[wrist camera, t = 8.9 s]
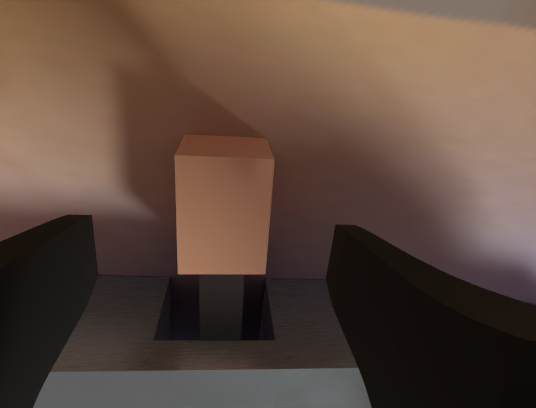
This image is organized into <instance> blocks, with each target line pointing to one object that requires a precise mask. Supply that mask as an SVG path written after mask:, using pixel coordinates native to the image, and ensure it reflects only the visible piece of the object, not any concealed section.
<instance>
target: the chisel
mask: <svg viewBox="0 0 536 408" xmlns="http://www.w3.org/2000/svg"><path fill="white" fill-rule="evenodd" d="M274 164H275V158H274V156H273V154H272V152H271V149H270V147H269V145H268V142H267V140H266V138H253V137H233V136H212V135H192V134H185V135H184V137H183V139H182V141H181V143H180V145H179V147H178V149H177V151H176V153H175V190H176V226H177V262H178V274H199V337H200V341H241V330H242V312H243V294H244V276H245V274H266V262H267V249H268V237H269V225H270V213H271V200H272V188H273V176H274Z"/></svg>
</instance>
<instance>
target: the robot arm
mask: <svg viewBox="0 0 536 408" xmlns="http://www.w3.org/2000/svg"><path fill="white" fill-rule="evenodd" d="M97 278H98V270H97V260H96V251H95V241H94V232H93V223H92V215H66V216H62V217H59V218H56V219H54V220H51V221H49V222H46V223H44V224H41V225H39V226H37V227H34V228H32V229H29V230H27V231H25V232H22V233H20V234H18V235H15V236H13V237H11V238H8V239H6V240H3V241H1V242H0V408H33V407H34V404H35V402H36V400H37V397H38V395H39V393H40V391H41V389H42V387H43V385H44V383H45V381H46V379H47V377H48V375H49V373H50V371H51V369H52V368H53V366H54V364H55V362H56V361H57V359H58V357H59V355H60V354H61V352H62V350H63V348H64V346H65V345H66V343H67V341H68V339H69V338H70V336H71V334H72V332H73V331H74V329H75V327H76V325H77V323H78V322H79V320H80V318H81V316H82V314H83V312H84V311H85V309H86V307H87V305H88V302H89V300H90V297H91V295H92V292H93V289H94V287H95V284H96V281H97ZM326 283H327V287H328V291H329V295H330V299H331V303H332V306H333V309H334V312H335V314H336V316H337V319H338V321H339V324H340V326H341V329H342V331H343V333H344V336H345V338H346V340H347V343H348V345H349V347H350V350H351V352H352V354H353V357H354V359H355V361H356V364H357V366H358V368H359V371H360V374H361V376H362V379H363V382H364V384H365V388H366V391H367V394H368V397H369V401H370V404H371V407H372V408H536V306H535V305H532V304H529V303H525V302H522V301H519V300H515V299H512V298H510V297H507V296H504V295H501V294H498V293H495V292H492V291H489V290H486V289H484V288H481V287H478V286H476V285H473V284H471V283H468V282H466V281H464V280H461V279H459V278H456V277H454V276H452V275H449V274H447V273H445V272H443V271H441V270H439V269H436V268H434V267H432V266H430V265H429V264H427V263H425V262H423V261H421V260H419V259H417V258H415V257H413V256H411V255H409V254H407V253H406V252H404V251H402V250H400V249H399V248H397V247H395V246H393V245H392V244H390V243H388V242H386V241H385V240H383V239H381V238H379V237H378V236H376V235H374V234H372V233H370V232H369V231H367V230H365V229H363V228H361V227H358V226H356V225H337V224H336V226H335V231H334V237H333V243H332V248H331V254H330V259H329V265H328V270H327V276H326Z"/></svg>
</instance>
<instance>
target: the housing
mask: <svg viewBox="0 0 536 408" xmlns="http://www.w3.org/2000/svg"><path fill="white" fill-rule="evenodd" d="M33 408H372V407H371V404H370V401H369V397H368V394H367V391H366V388H365V384H364V382H363V379H362V376H361V374H360V371H359V368H358V366H357V364H356V361H355V359H354V357H353V354H352V352H351V350H350V347H349V345H348V343H347V340H346V338H345V336H344V333H343V331H342V329H341V326H340V324H339V321H338V319H337V316H336V314H335V312H334V309H333V306H332V303H331V299H330V295H329V291H328V287H327V283H326V280H306V279H265V289H264V299H263V309H262V318H261V328H260V338H259V340H245V341H171V321H170V277H145V276H98V278H97V281H96V284H95V287H94V289H93V292H92V295H91V297H90V300H89V302H88V305H87V307H86V309H85V311H84V312H83V314H82V316H81V318H80V320H79V322H78V323H77V325H76V327H75V329H74V331H73V332H72V334H71V336H70V338H69V339H68V341H67V343H66V345H65V346H64V348H63V350H62V352H61V354H60V355H59V357H58V359H57V361H56V362H55V364H54V366H53V368H52V369H51V371H50V373H49V375H48V377H47V379H46V381H45V383H44V385H43V387H42V389H41V391H40V393H39V395H38V397H37V400H36V402H35V404H34V407H33Z"/></svg>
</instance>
